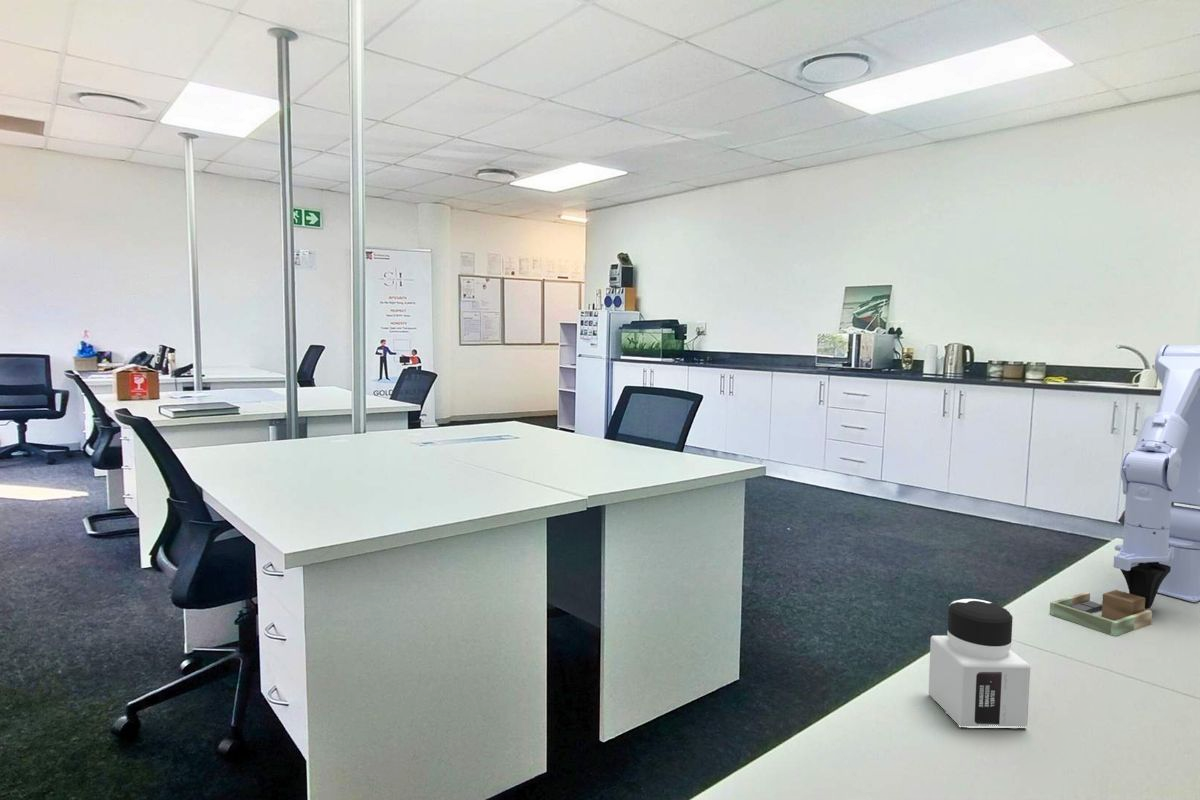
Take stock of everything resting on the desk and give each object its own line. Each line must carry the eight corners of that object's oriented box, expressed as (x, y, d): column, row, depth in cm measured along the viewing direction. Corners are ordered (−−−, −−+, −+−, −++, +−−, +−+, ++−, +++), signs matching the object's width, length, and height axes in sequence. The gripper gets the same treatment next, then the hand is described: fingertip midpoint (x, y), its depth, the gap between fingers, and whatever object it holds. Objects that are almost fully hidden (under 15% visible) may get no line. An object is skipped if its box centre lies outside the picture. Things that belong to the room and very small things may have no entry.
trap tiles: (1089, 605, 112) (1089, 600, 112) (1102, 609, 110) (1103, 604, 110) (1070, 611, 109) (1070, 606, 109) (1083, 615, 108) (1084, 610, 108)
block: (1114, 613, 109) (1116, 589, 109) (1143, 622, 105) (1145, 597, 105) (1101, 617, 107) (1102, 593, 107) (1130, 627, 104) (1131, 602, 103)
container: (1028, 730, 75) (1034, 618, 74) (959, 729, 75) (964, 617, 74) (989, 695, 83) (994, 593, 82) (927, 694, 83) (931, 592, 82)
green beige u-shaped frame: (1085, 603, 113) (1086, 591, 113) (1151, 623, 105) (1152, 611, 104) (1049, 614, 108) (1050, 602, 108) (1115, 636, 100) (1116, 623, 100)
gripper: (1141, 514, 115) (1136, 591, 115) (1094, 524, 108) (1089, 605, 109) (1191, 524, 108) (1186, 605, 109) (1145, 534, 102) (1140, 620, 103)
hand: (1141, 606), depth 109 cm, fingers closed
